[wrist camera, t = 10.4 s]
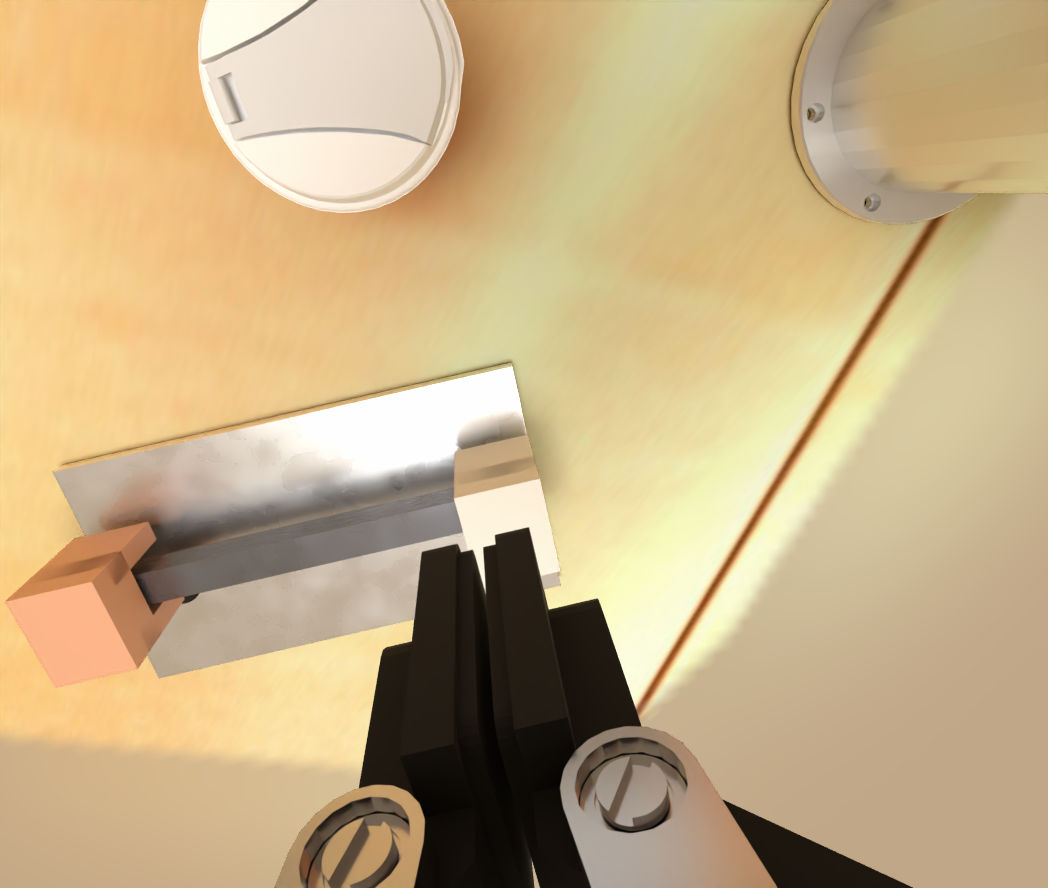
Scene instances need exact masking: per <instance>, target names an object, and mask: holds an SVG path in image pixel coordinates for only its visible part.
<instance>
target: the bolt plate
mask: <svg viewBox="0 0 1048 888" xmlns="http://www.w3.org/2000/svg"><path fill="white" fill-rule="evenodd" d="M524 435H527V431H526V427H525V422H524V418H523V413H522V409H521V404H520V400H519V395H518V391H517V386H516V382H515V377H514V373H513V368H512V365H511V363H506V364H502V365H498V366H493V367H489V368H484V369H480V370H476V371H471V372H467V373H462V374H458V375H454V376H449V377H445V378H441V379H436V380H432V381H427V382H423V383H419V384H414V385H410V386H406V387H401V388H397V389H392V390H388V391H384V392H379V393H375V394H371V395H366V396H362V397H357V398H353V399H349V400H344V401H340V402H336V403H331V404H327V405H322V406H318V407H314V408H309V409H305V410H301V411H296V412H292V413H287V414H283V415H279V416H274V417H270V418H265V419H261V420H257V421H252V422H248V423H244V424H239V425H235V426H230V427H226V428H222V429H217V430H213V431H209V432H204V433H200V434H195V435H191V436H187V437H182V438H178V439H174V440H169V441H165V442H160V443H156V444H152V445H147V446H143V447H139V448H134V449H130V450H125V451H121V452H117V453H112V454H108V455H104V456H99V457H95V458H90V459H86V460H82V461H77V462H73V463H68V464H64V465H62V466H60V467H59V468H58V469H56V470H55V471H53V474H54V476H55V478H56V480H57V482H58V484H59V486H60V487H61V489H62V491H63V493H64V495H65V497H66V499H67V501H68V503H69V505H70V507H71V509H72V511H73V513H74V515H75V517H76V518H77V520H78V522H79V524H80V526H81V528H82V530H83V532H84V534H85V536H88V535H92V534H96V533H101V532H105V531H109V530H114V529H118V528H123V527H127V526H131V525H136V524H140V523H144V522H149V524H150V526H151V529H152V531H153V533H154V535H155V537H156V541H155V542H154V543H153V544H152V545H151V546H150V547H149V549H148V550H147V551H146V552H145V553H144V554H143V556H142V557H141V558H140V559H144V558H149V557H153V556H157V555H162V554H166V553H170V552H175V551H179V550H183V549H188V548H192V547H196V546H201V545H205V544H209V543H214V542H218V541H222V540H227V539H231V538H236V537H240V536H244V535H249V534H253V533H257V532H262V531H266V530H270V529H275V528H279V527H283V526H288V525H292V524H296V523H301V522H305V521H309V520H314V519H318V518H323V517H327V516H331V515H336V514H340V513H344V512H349V511H353V510H357V509H362V508H366V507H370V506H375V505H379V504H383V503H388V502H392V501H397V500H401V499H405V498H410V497H414V496H418V495H423V494H427V493H431V492H436V491H440V490H444V489H449V488H453V487H454V467H455V451H458V450H463V449H467V448H471V447H476V446H480V445H484V444H489V443H493V442H497V441H502V440H506V439H511V438H515V437H519V436H524ZM453 544H458V545H459V548H460V550H461V552H464V551H468V548H467V544H466V541H465V537H464V533H459V534H454V535H450V536H446V537H441V538H437V539H433V540H428V541H424V542H420V543H415V544H411V545H407V546H402V547H398V548H394V549H389V550H385V551H381V552H376V553H372V554H368V555H363V556H359V557H355V558H350V559H346V560H342V561H337V562H333V563H329V564H324V565H320V566H316V567H311V568H307V569H303V570H298V571H294V572H289V573H285V574H281V575H276V576H272V577H268V578H263V579H259V580H255V581H250V582H246V583H242V584H237V585H233V586H229V587H224V588H220V589H216V590H211V591H207V592H203V593H198V594H194V595H190V596H185V597H184V598H185V599H184V601H183V602H182V604H181V605H180V607H179V608H178V610H177V611H176V613H175V614H174V616H173V617H172V619H171V620H170V622H169V623H168V625H167V626H166V628H165V629H164V631H163V632H162V634H161V635H160V637H159V638H158V639H157V641H156V642H155V644H154V645H153V647H152V648H151V650H150V651H149V653H148V654H147V656H148V658H149V660H150V662H151V664H152V666H153V668H154V670H155V671H156V673H157V675H158V677H159V678H163V677H167V676H171V675H176V674H180V673H184V672H188V671H193V670H197V669H201V668H206V667H210V666H214V665H219V664H223V663H227V662H232V661H236V660H240V659H245V658H249V657H253V656H258V655H262V654H266V653H271V652H275V651H279V650H284V649H288V648H292V647H297V646H301V645H305V644H309V643H314V642H318V641H322V640H327V639H331V638H335V637H340V636H344V635H348V634H353V633H357V632H361V631H366V630H370V629H374V628H379V627H383V626H387V625H392V624H396V623H400V622H405V621H409V620H413V619H414V618H415V609H416V599H417V590H418V580H419V571H420V561H421V554H422V552H423V551H427V550H431V549H436V548H440V547H444V546H449V545H453ZM140 559H139V560H140ZM541 580H542V584H543V588H544V589H547V588H552V587H556V586H560V585H561V584H560V579H559V575H558V572H555V573H551V574H547V575H542V576H541ZM484 590H485V593H486V589H484Z"/></svg>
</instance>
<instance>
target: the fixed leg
mask: <svg viewBox="0 0 1048 888" xmlns="http://www.w3.org/2000/svg"><path fill="white" fill-rule="evenodd" d="M454 501H455V504H456V508H457V512H458V515H459V519H460V522H461V526H462V530H463V533H464V537H465V541H466V544H467V548H468V551H469V550H473V551H474V554H475V557H476V560H477V564H478V568H479V571H480V575H481V579H482V582H483V586H484V589H486V587H485V571H484V556H483V547H486V546H490V545H495V535H496V534H501V533H505V532H509V531H514V530H518V529H522V528H527V527H529V529H530V533H531V537H532V541H533V546H534V550H535V554H536V558H537V563H538V567H539V571H540V575H541V576H542V575H547V574H551V573H555V572H559V571H560V567H559V563H558V558H557V554H556V549H555V545H554V540H553V536H552V531H551V527H550V522H549V518H548V513H547V509H546V504H545V500H544V495H543V491H542V486H541V482H540V477H539V474H538V470H537V467H536V463H535V459H534V456H533V452H532V448H531V445H530V441H529V438H528V435H524V436H519V437H515V438H511V439H506V440H502V441H497V442H493V443H489V444H484V445H480V446H476V447H471V448H467V449H463V450H458V451H455V467H454Z"/></svg>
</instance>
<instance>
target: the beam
mask: <svg viewBox="0 0 1048 888" xmlns="http://www.w3.org/2000/svg"><path fill="white" fill-rule="evenodd" d="M459 533H463V530H462V526H461V522H460V519H459V515H458V512H457V508H456V504H455V501H454V487H453V488H449V489H444V490H440V491H436V492H431V493H427V494H423V495H418V496H414V497H410V498H405V499H401V500H397V501H392V502H388V503H383V504H379V505H375V506H370V507H366V508H362V509H357V510H353V511H349V512H344V513H340V514H336V515H331V516H327V517H323V518H318V519H314V520H309V521H305V522H301V523H296V524H292V525H288V526H283V527H279V528H275V529H270V530H266V531H262V532H257V533H253V534H249V535H244V536H240V537H236V538H231V539H227V540H222V541H218V542H214V543H209V544H205V545H201V546H196V547H192V548H188V549H183V550H179V551H175V552H170V553H166V554H162V555H157V556H153V557H149V558H144V559H140V560H138V561H137V562H136V564H135V565H134V566H133V567H132V568H131V569H130V570H131V572H132V574H133V576H134V578H135V580H136V582H137V584H138V586H139V588H140V590H141V592H142V594H143V596H144V598H145V600H146V602H147V604H148V605H151V604H155V603H159V602H164V601H168V600H172V599H177V598H181V597H185V596H190V595H194V594H198V593H203V592H207V591H211V590H216V589H220V588H224V587H229V586H233V585H237V584H242V583H246V582H250V581H255V580H259V579H263V578H268V577H272V576H276V575H281V574H285V573H289V572H294V571H298V570H303V569H307V568H311V567H316V566H320V565H324V564H329V563H333V562H337V561H342V560H346V559H350V558H355V557H359V556H363V555H368V554H372V553H376V552H381V551H385V550H389V549H394V548H398V547H402V546H407V545H411V544H415V543H420V542H424V541H428V540H433V539H437V538H441V537H446V536H450V535H454V534H459Z"/></svg>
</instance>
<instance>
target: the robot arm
mask: <svg viewBox="0 0 1048 888" xmlns="http://www.w3.org/2000/svg"><path fill="white" fill-rule="evenodd" d="M808 109H809V110H810V112H811V117H810V118H809V120H808V118H807V110H808ZM791 120H792V130H793V135H794V140H795V146H796V150H797V153H798V155H799V158H800V160H801V163H802V165H803V168H804V170H805V172H806V174H807V175H808V177H809V178H810V180H811V181H812V183H813V184H814V186H815V187H816V189H817V190H818V191H819V192H820V193H821V194H822V195H823V196H824V197H825V198H826V199H827V200H828V201H829V202H830V203H831V204H832V205H833V206H835V207H837V208H839V209H840V210H842V211H844V212H845V213H847V214H849V215H850V216H853V217H856V218H859V219H863V220H866V221H869V222H876V223H884V224H913V223H917V222H922V221H926V220H930V219H935V218H937V217H939V216H941V215H944V214H946V213H948V212H951V211H953V210H955V209H957V208H959V207H960V206H962V205H963V204H965V203H967V202H968V201H970V200H971V199H973V198H974V197H976V196H977V195H978V194H980V193H1033V194H1048V0H829V1H828V2H827V4H826V5H825V7H824V8H823V9H822V11H821V12H820V14H819V15H818V17H817V18H816V20H815V22H814V24H813V26H812V28H811V30H810V32H809V34H808V36H807V38H806V40H805V43H804V45H803V48H802V52H801V55H800V58H799V61H798V64H797V67H796V70H795V77H794V83H793V90H792V96H791ZM865 199H866V201H867V202H866V205H865V206H864V202H865ZM483 556H484V571H485V587H486V593H485V590H484V586H483V582H482V579H481V575H480V571H479V568H478V564H477V560H476V557H475V554H474V551H473V550H469V551H464V552H461V550H460V548H459V545H458V544H453V545H449V546H444V547H440V548H436V549H431V550H427V551H423V552H422V554H421V561H420V571H419V580H418V590H417V599H416V609H415V618H414V627H413V637H412V642H408V643H403V644H399V645H395V646H390V647H386V648H385V649H384V650H383V652H382V656H381V660H380V666H379V672H378V678H377V684H376V690H375V695H374V701H373V707H372V713H371V719H370V725H369V731H368V737H367V743H366V749H365V755H364V761H363V767H362V772H361V779H360V785H359V789H354V790H352V791H351V792H348V793H346V794H344V795H342V796H340V797H338V798H336V799H334V800H333V801H332V802H330V803H329V804H328V805H326V806H325V807H324V808H323V809H321V810H320V811H319V812H317V813H316V814H315V815H314V816H313V817H312V818H311V820H310V821H309V822H308V823H307V824H306V826H304V828H303V829H302V830H301V831H300V832H299V834H298V836H297V838H296V840H295V842H294V843H293V845H292V847H291V849H290V850H289V853H288V855H287V857H286V860H285V862H284V865H283V867H282V870H281V872H280V875H279V877H278V880H277V882H276V885H275V887H274V888H534V879H533V871H532V862H533V865H534V869H535V872H536V875H537V879H538V882H539V886H540V888H913V887H910V886H908V885H906V884H904V883H902V882H900V881H897V880H895V879H893V878H891V877H889V876H887V875H884V874H882V873H880V872H878V871H876V870H874V869H872V868H869V867H867V866H865V865H863V864H861V863H859V862H856V861H854V860H852V859H850V858H848V857H846V856H843V855H841V854H839V853H837V852H835V851H833V850H830V849H828V848H826V847H824V846H822V845H820V844H818V843H815V842H813V841H811V840H809V839H807V838H805V837H802V836H800V835H798V834H796V833H794V832H791V831H789V830H787V829H785V828H783V827H781V826H779V825H776V824H774V823H772V822H770V821H768V820H766V819H764V818H761V817H759V816H757V815H755V814H753V813H750V812H748V811H746V810H744V809H742V808H740V807H737V806H735V805H733V804H731V803H729V802H727V801H725V800H722V799H721V797H720V795H719V794H718V792H717V791H716V789H715V787H714V786H713V784H712V783H711V781H710V779H709V778H708V776H707V775H706V773H705V771H704V770H703V768H702V767H701V765H700V763H699V762H698V760H697V759H696V757H695V756H694V755H693V754H692V753H691V752H690V750H689V749H688V748H687V747H686V746H685V745H684V744H683V742H681V741H679V740H678V739H676V738H674V737H673V736H671V735H669V734H668V733H666V732H663V731H660V730H656V729H652V728H649V727H642V726H641V723H640V720H639V717H638V714H637V711H636V708H635V705H634V702H633V700H632V697H631V694H630V691H629V688H628V685H627V682H626V679H625V676H624V673H623V670H622V667H621V664H620V661H619V658H618V655H617V652H616V649H615V646H614V643H613V640H612V637H611V635H610V632H609V629H608V626H607V623H606V620H605V617H604V614H603V611H602V608H601V605H600V603H599V600H598V599H593V600H589V601H584V602H580V603H576V604H572V605H567V606H563V607H559V608H554V609H550V610H548V605H547V601H546V597H545V592H544V588H543V584H542V580H541V575H540V571H539V567H538V563H537V558H536V554H535V550H534V546H533V541H532V537H531V533H530V529H529V527H527V528H522V529H518V530H514V531H509V532H505V533H501V534H496V535H495V545H490V546H486V547H483ZM531 858H532V860H531Z"/></svg>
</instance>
